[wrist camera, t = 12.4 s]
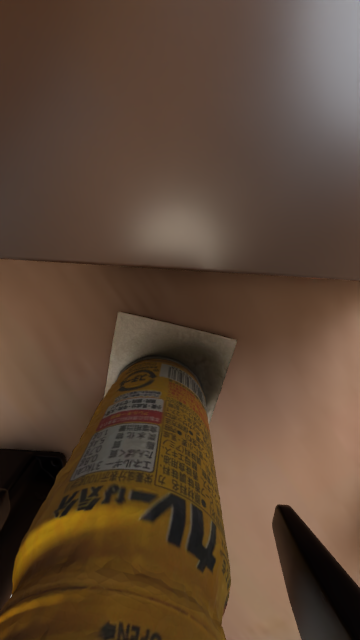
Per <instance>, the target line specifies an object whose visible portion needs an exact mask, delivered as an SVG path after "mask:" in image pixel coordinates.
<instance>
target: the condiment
mask: <svg viewBox="0 0 360 640" xmlns="http://www.w3.org/2000/svg"><path fill="white" fill-rule="evenodd" d="M236 343H237V340H234V339H231V338H226V337H223V336H220V335H215V334H212V333H208V332H203V331H199V330H196V329H192V328H187V327H183V326H179V325H174V324H171V323H168V322H162V321H156V320H152V319H149V318H145V317H141V316H135V315H131V314H127V313H122V312H118V316H117V321H116V326H115V333H114V338H113V343H112V351H111V356H110V362H109V368H108V375H107V381H106V387H105V393H104V398H103V400H102V401H101V402H100V404H99V406H98V407H97V409H96V411H95V413H94V415H93V417H92V419H91V421H90V423H89V425H88V427H87V429H86V430H85V432H84V433H83V435H82V436H81V438H80V442H79V444H78V445H77V446H76V447H75V448H74V450H73V451H72V455H71V457H70V459H69V460H68V462H67V464H66V465H65V467H63V468H62V469H61V470H60V472H59V473H58V475H57V476H56V480H55V484H54V485H53V487H52V489H51V490H50V492H49V493H48V496H47V498H46V500H45V501H44V502H43V504H42V505H41V507H40V509H39V511H38V513H37V515H36V516H35V518H34V520H33V522H32V524H31V526H30V528H29V530H28V532H27V533H26V534H25V536H24V538H23V540H22V542H21V544H20V547H19V551H18V553H17V555H16V558H15V563H14V569H13V577H12V582H13V589H12V597H11V598H10V599H9V600H8V601H7V602H6V603H5V605H4V606H3V608H2V609H1V610H0V640H226V638H225V634H224V631H223V628H222V626H221V624H222V616H223V614H224V612H225V609H226V606H227V601H228V598H229V590H230V585H231V577H230V565H229V559H228V551H227V546H226V540H225V533H224V526H223V520H222V511H221V505H220V497H219V493H218V485H217V479H216V472H215V466H214V459H213V452H212V444H211V437H210V431H209V423H210V420H211V417H212V414H213V411H214V408H215V405H216V402H217V399H218V396H219V394H220V391H221V389H222V385H223V381H224V379H225V375H226V372H227V369H228V366H229V363H230V361H231V358H232V356H233V352H234V349H235V346H236Z"/></svg>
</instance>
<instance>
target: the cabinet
mask: <svg viewBox="0 0 360 640" xmlns="http://www.w3.org/2000/svg"><path fill="white" fill-rule="evenodd" d="M0 259H13V260H29V261H45V262H61V263H77V264H94V265H110V266H126V267H142V268H158V269H174V270H190V271H206V272H222V273H239V274H255V275H271V276H287V277H303V278H319V279H335V280H351V281H360V0H0Z"/></svg>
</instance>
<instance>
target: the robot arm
mask: <svg viewBox="0 0 360 640" xmlns="http://www.w3.org/2000/svg"><path fill="white" fill-rule="evenodd" d="M65 465H66V459H65V456H64V455H63V454H62V453H59V452H46V451H29V450H13V449H0V610H1V609H2V608H3V606H4V605H5V603H6V602H7V601H8V600H9V599H10V597H11V595H12V589H13V582H12V577H13V569H14V563H15V558H16V555H17V553H18V551H19V547H20V544H21V542H22V540H23V538H24V536H25V534H26V533H27V532H28V530H29V528H30V526H31V524H32V522H33V520H34V518H35V516H36V515H37V513H38V511H39V509H40V507H41V505H42V504H43V502H44V501H45V500H46V498H47V496H48V493H49V492H50V490H51V489H52V487H53V485H54V484H55V480H56V476H57V475H58V473H59V472H60V470H61V469H62V468H63V467H65ZM272 527H273V533H274V537H275V541H276V546H277V550H278V554H279V559H280V563H281V567H282V572H283V576H284V580H285V584H286V588H287V593H288V597H289V600H290V603H291V607H292V610H293V613H294V617H295V620H296V623H297V626H298V630H299V633H300V636H301V639H302V640H360V588H359V587H358V585H357V584H356V583H355V582H354V581H353V579H352V578H351V577H350V576H349V575H348V574H347V572H346V571H345V570H344V569H343V568H342V567H341V565H340V564H339V563H338V562H337V561H336V559H335V558H334V557H333V556H332V555H331V554H330V552H329V551H328V550H327V549H326V548H325V546H324V545H323V544H322V543H321V542H320V541H319V539H318V538H317V537H316V536H315V535H314V534H313V532H312V531H311V530H310V529H309V528H308V526H307V525H306V524H305V523H304V522H303V521H302V519H301V518H300V517H299V516H298V515H297V514H296V512H295V511H294V510H293V509H292V508H291V507H290V506H289V505H277V506H276V508H275V513H274V517H273V522H272Z"/></svg>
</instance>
